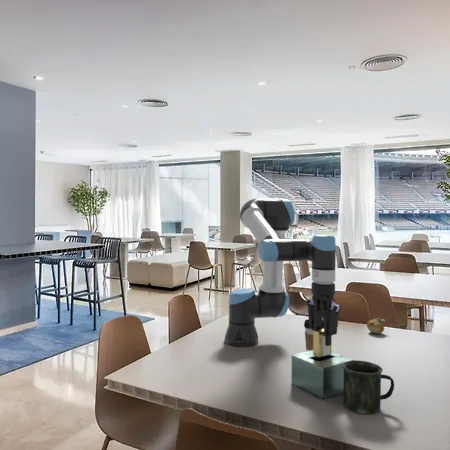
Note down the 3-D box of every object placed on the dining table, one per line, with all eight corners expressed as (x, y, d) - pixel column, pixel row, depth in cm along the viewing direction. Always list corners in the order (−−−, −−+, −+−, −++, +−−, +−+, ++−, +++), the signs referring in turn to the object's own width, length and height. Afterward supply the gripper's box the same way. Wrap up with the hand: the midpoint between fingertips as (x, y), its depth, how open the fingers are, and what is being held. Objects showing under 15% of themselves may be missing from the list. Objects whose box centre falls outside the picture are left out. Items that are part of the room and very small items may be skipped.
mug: (339, 397, 125) (340, 359, 125) (389, 401, 122) (390, 362, 122) (343, 413, 114) (344, 372, 114) (398, 419, 111) (398, 376, 111)
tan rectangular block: (313, 355, 131) (313, 330, 131) (325, 351, 134) (326, 328, 134) (318, 357, 129) (318, 332, 129) (331, 353, 132) (331, 329, 132)
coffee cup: (325, 361, 156) (326, 323, 155) (303, 360, 157) (303, 322, 157) (324, 354, 164) (325, 318, 164) (303, 353, 166) (304, 317, 165)
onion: (369, 330, 201) (369, 314, 201) (385, 333, 197) (386, 316, 197) (364, 333, 195) (365, 317, 195) (381, 336, 191) (382, 319, 190)
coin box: (291, 384, 134) (291, 354, 134) (321, 376, 141) (321, 347, 141) (322, 400, 122) (323, 368, 122) (353, 390, 130) (353, 359, 130)
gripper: (298, 279, 136) (297, 348, 136) (333, 286, 123) (332, 362, 123) (314, 278, 140) (313, 345, 140) (350, 284, 127) (348, 358, 127)
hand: (322, 353), depth 132 cm, fingers closed on tan rectangular block, 2 cm apart
